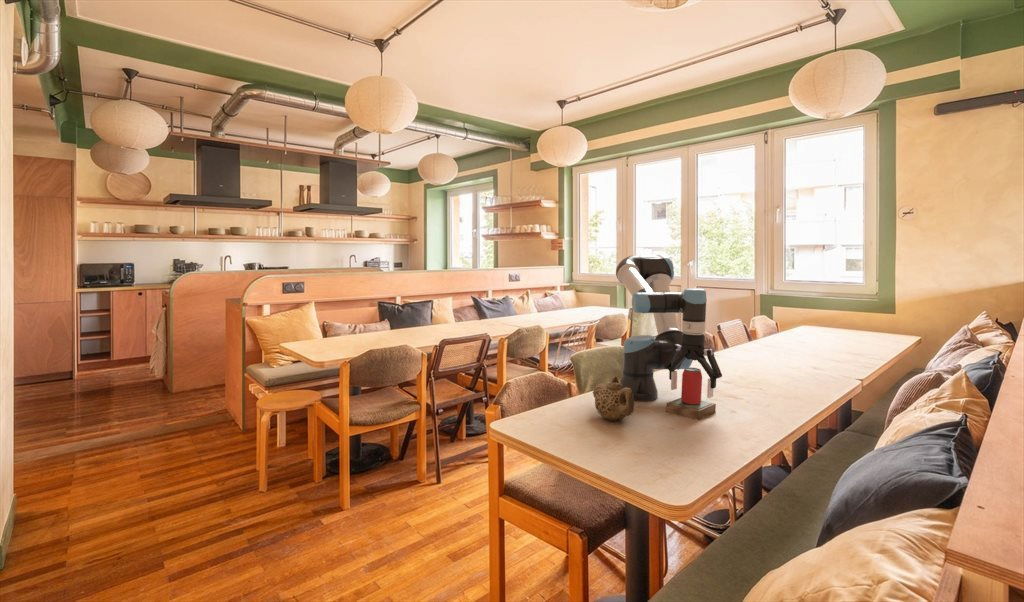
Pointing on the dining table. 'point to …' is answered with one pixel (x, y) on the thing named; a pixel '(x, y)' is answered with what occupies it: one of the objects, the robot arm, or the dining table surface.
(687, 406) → the pedestal
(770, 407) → the dining table surface
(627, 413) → the teapot
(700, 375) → the beer can
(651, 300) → the robot arm
